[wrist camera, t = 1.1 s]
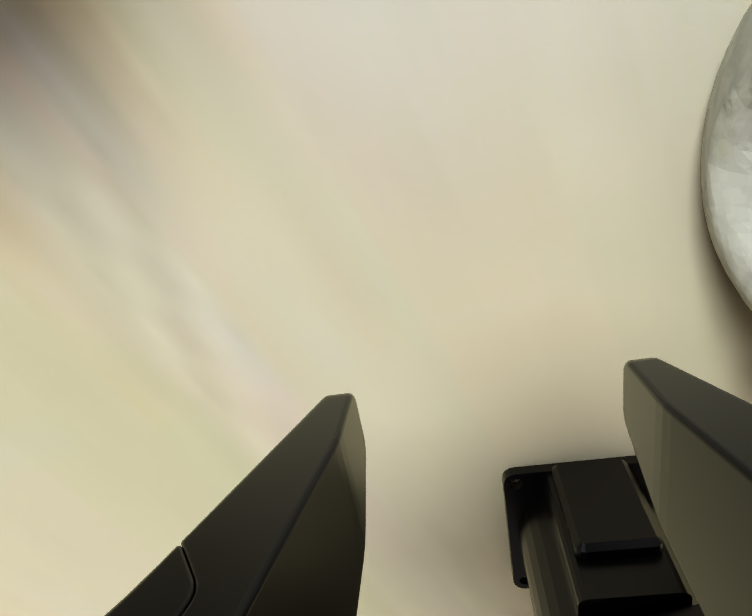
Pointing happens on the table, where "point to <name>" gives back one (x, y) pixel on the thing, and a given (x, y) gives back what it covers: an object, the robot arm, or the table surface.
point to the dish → (731, 161)
